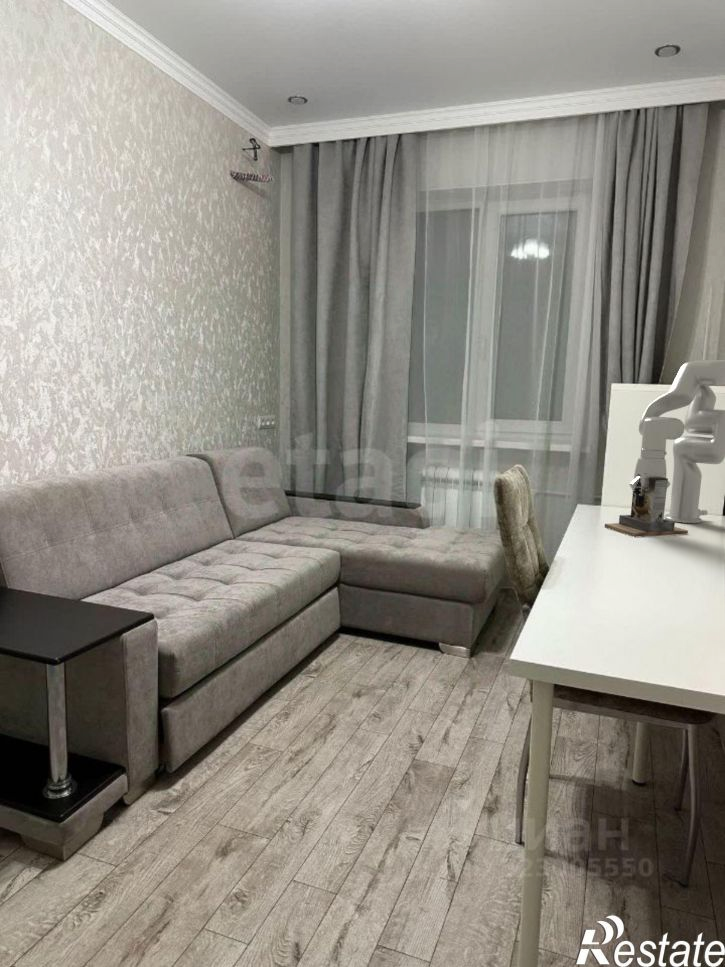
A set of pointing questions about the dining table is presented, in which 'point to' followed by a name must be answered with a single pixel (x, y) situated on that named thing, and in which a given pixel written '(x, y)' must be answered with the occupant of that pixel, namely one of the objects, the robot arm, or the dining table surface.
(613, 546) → the dining table surface
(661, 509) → the coffee box
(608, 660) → the dining table surface
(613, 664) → the dining table surface
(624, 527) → the slot board
